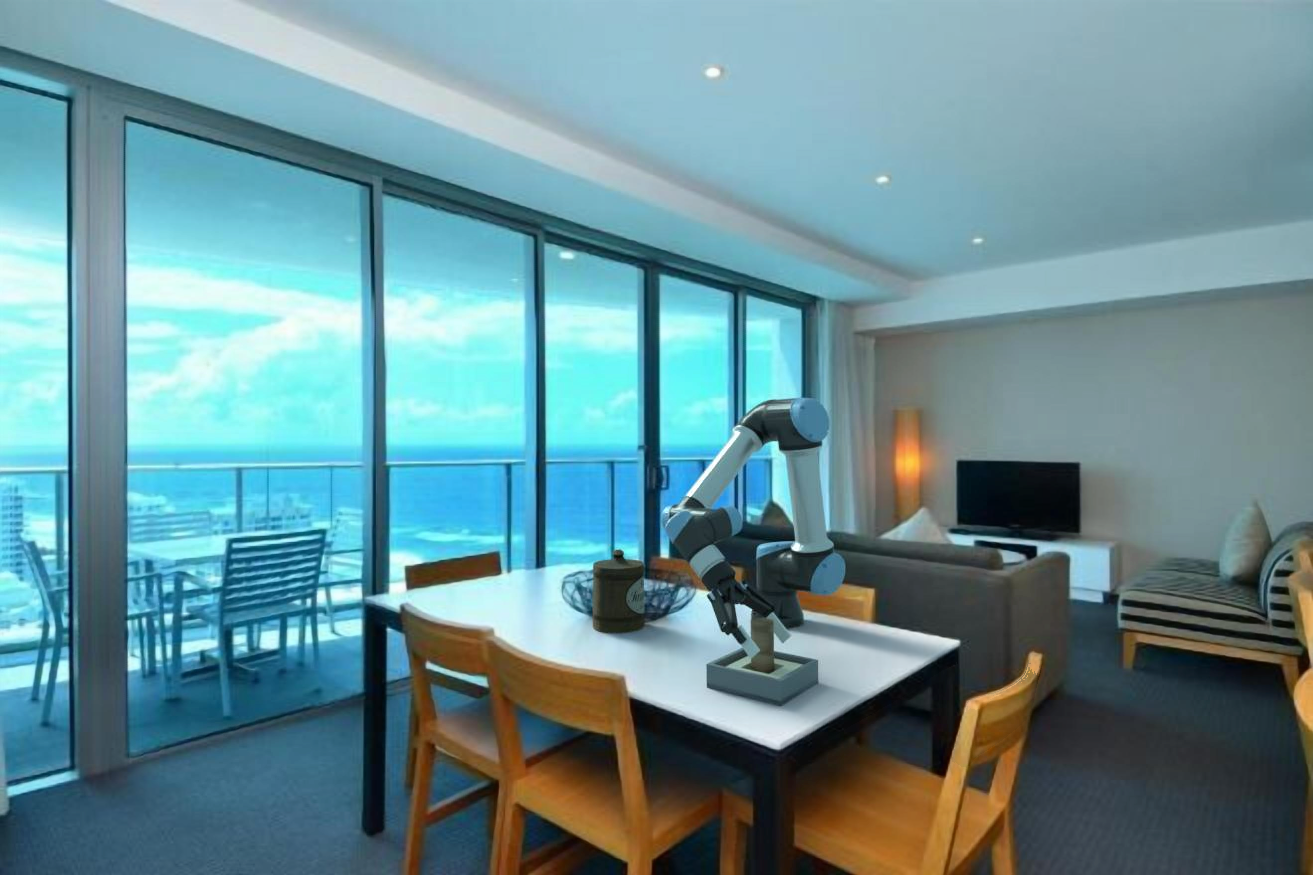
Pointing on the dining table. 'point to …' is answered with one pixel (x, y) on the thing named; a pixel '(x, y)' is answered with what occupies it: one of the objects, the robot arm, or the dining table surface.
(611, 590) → the wooden container
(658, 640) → the dining table surface
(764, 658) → the peg
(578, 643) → the dining table surface
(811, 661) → the tray
